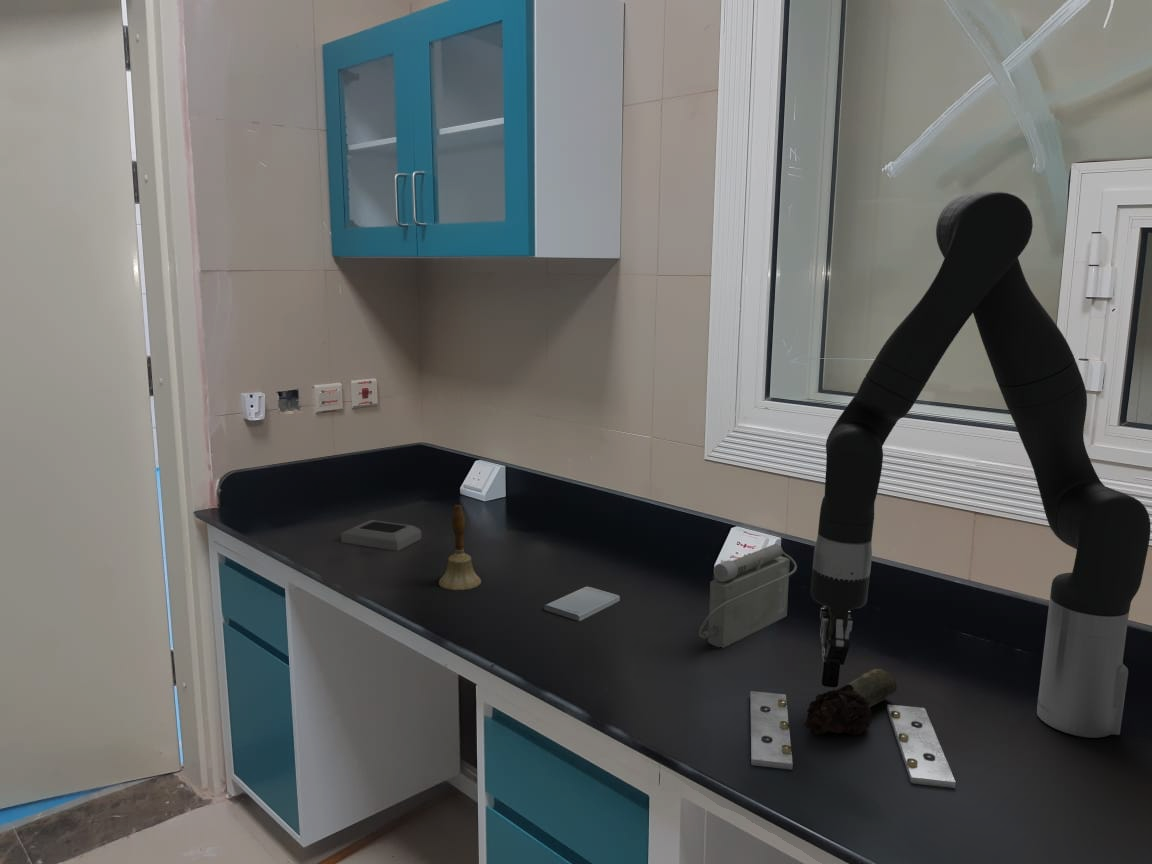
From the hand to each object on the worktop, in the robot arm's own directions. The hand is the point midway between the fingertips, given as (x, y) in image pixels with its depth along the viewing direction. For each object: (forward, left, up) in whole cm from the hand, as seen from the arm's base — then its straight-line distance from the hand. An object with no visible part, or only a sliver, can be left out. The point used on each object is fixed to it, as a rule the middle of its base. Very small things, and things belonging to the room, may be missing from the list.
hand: (829, 684), depth 120 cm
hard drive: (+41, -30, -5) cm, 51 cm away
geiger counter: (+12, -24, -4) cm, 27 cm away
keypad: (+93, -59, -5) cm, 110 cm away
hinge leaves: (-1, +7, -4) cm, 8 cm away
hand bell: (+67, -37, -4) cm, 76 cm away
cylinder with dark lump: (-3, +2, -4) cm, 6 cm away
